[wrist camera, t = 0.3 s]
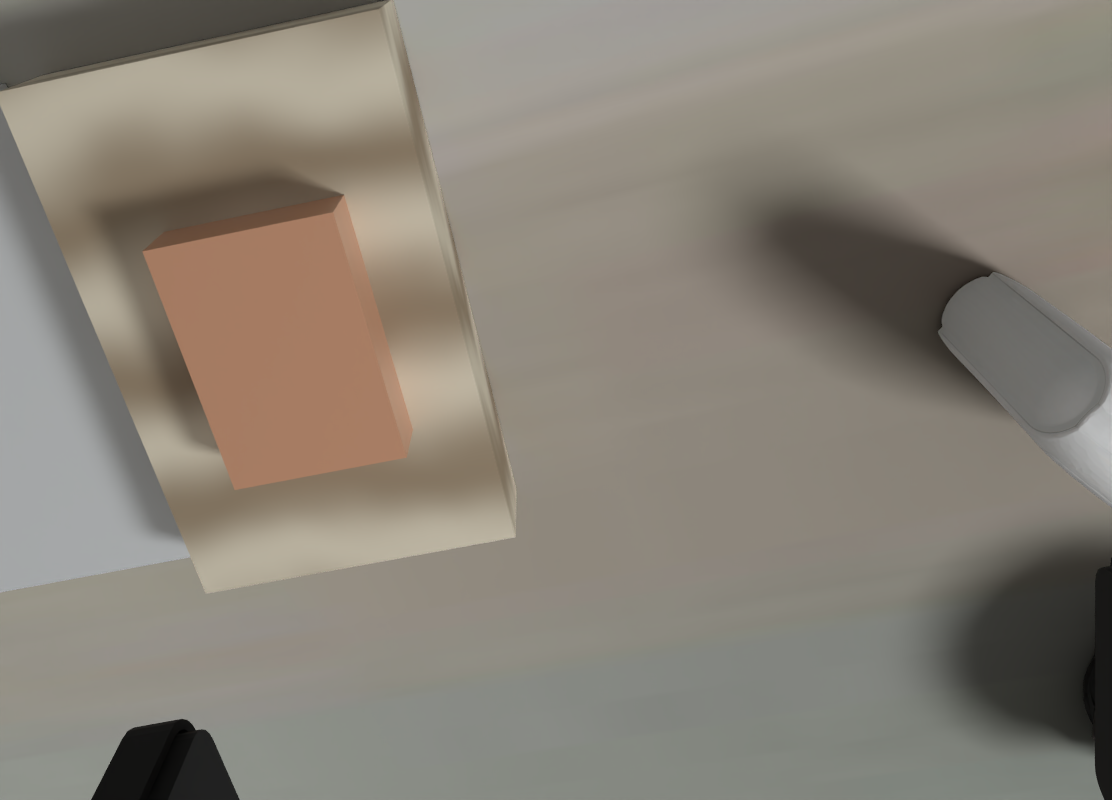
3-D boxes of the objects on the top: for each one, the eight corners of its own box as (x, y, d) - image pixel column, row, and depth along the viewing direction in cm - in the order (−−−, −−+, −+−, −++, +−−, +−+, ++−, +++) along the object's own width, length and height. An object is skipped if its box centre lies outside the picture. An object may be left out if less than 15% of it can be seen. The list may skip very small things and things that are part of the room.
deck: (42, 75, 41) (-6, 92, 37) (392, -2, 40) (379, 9, 36) (229, 543, 50) (206, 593, 47) (516, 490, 49) (515, 537, 46)
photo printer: (1147, 378, 47) (1337, 526, 36) (1076, 447, 49) (1237, 610, 38) (988, 251, 45) (1139, 369, 34) (917, 328, 46) (1040, 465, 35)
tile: (163, 231, 39) (142, 251, 37) (344, 194, 39) (333, 212, 37) (249, 460, 44) (234, 490, 42) (413, 429, 43) (406, 457, 41)
